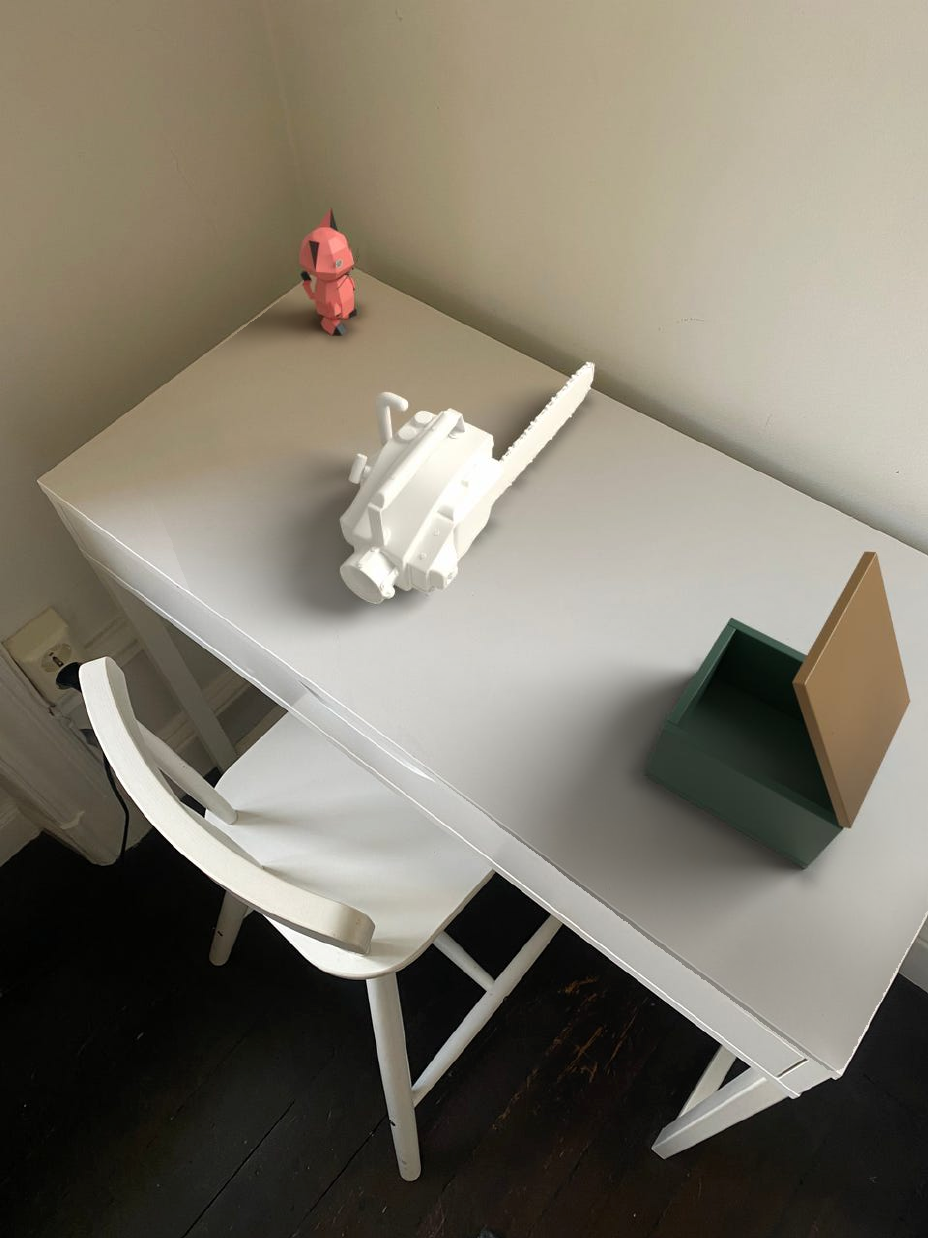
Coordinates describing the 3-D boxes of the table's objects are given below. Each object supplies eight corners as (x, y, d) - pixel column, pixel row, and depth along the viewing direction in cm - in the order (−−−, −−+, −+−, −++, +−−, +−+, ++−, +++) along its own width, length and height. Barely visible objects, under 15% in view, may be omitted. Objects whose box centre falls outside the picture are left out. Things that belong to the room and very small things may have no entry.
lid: (791, 682, 53) (804, 684, 53) (864, 550, 58) (877, 551, 58) (839, 826, 61) (850, 829, 61) (899, 699, 67) (910, 701, 66)
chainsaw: (615, 403, 96) (632, 303, 85) (419, 638, 80) (411, 551, 70) (494, 349, 101) (496, 248, 90) (287, 561, 85) (261, 468, 74)
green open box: (643, 775, 73) (661, 728, 66) (708, 670, 78) (731, 616, 71) (805, 869, 68) (842, 830, 61) (862, 752, 74) (902, 703, 67)
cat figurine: (352, 345, 101) (338, 249, 91) (295, 333, 102) (275, 237, 92) (374, 305, 105) (363, 209, 95) (319, 294, 106) (302, 198, 96)
